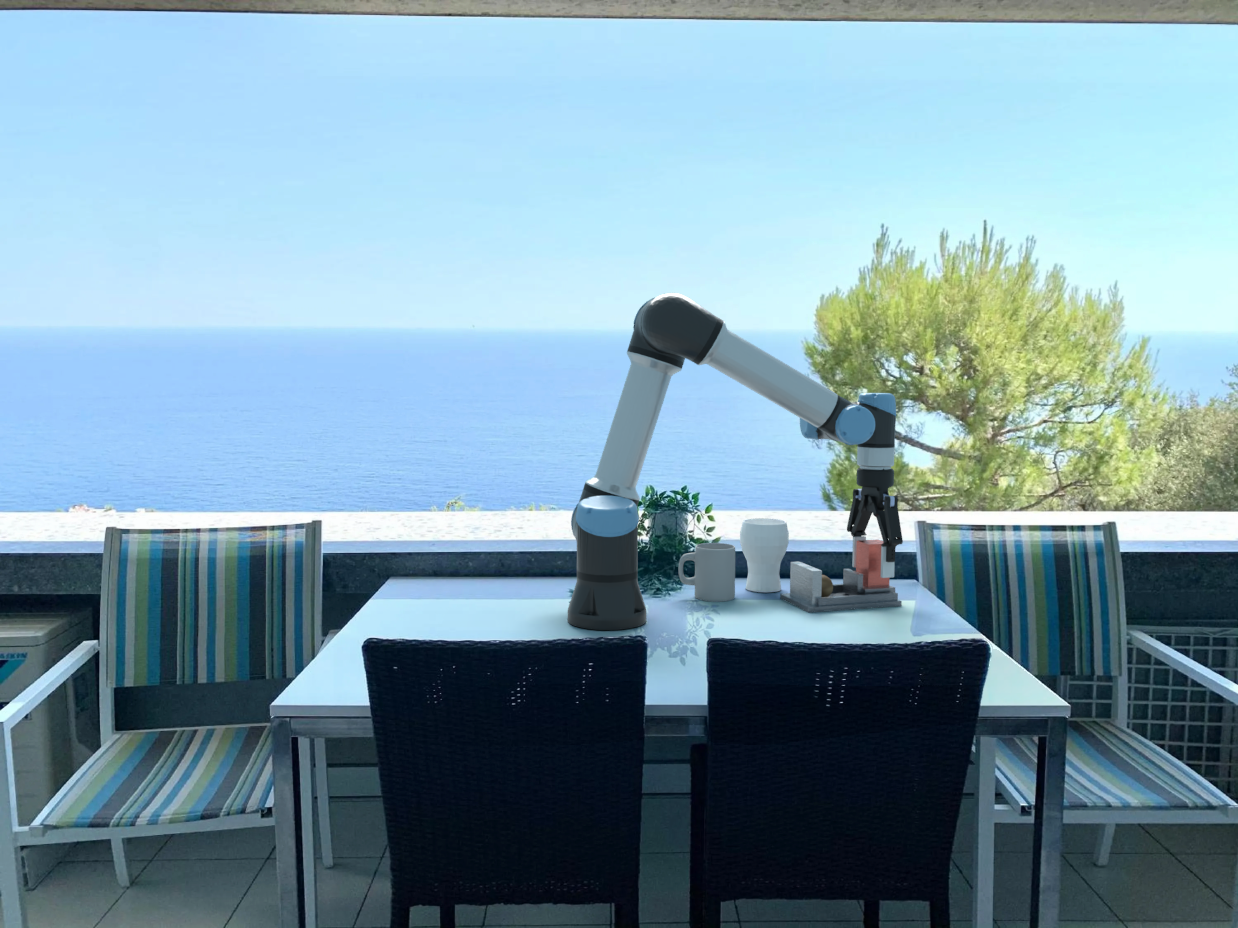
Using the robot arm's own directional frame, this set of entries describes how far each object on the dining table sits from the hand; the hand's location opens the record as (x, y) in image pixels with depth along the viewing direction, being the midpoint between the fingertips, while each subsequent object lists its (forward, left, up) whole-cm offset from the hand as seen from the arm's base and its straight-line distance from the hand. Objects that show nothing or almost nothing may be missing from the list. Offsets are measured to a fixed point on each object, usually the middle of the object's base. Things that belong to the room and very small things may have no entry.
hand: (872, 571), depth 215 cm
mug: (-33, +12, -6) cm, 35 cm away
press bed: (-8, 0, -6) cm, 10 cm away
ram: (-1, 0, -5) cm, 5 cm away
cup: (-18, +16, -6) cm, 24 cm away
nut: (-12, 0, -6) cm, 13 cm away
